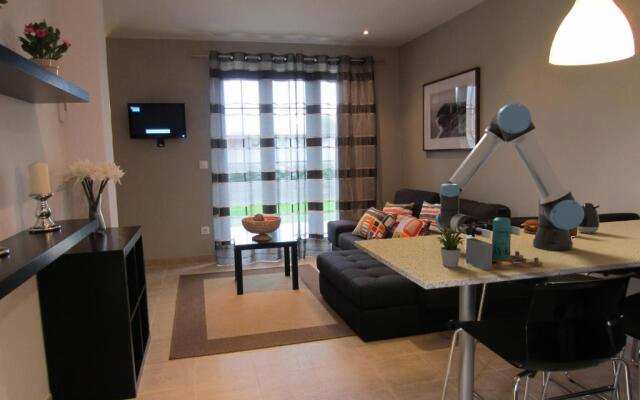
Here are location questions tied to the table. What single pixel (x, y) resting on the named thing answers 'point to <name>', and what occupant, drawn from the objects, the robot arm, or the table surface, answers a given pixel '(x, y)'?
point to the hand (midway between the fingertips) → (504, 233)
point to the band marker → (505, 263)
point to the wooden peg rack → (516, 265)
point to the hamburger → (530, 226)
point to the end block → (479, 253)
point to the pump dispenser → (589, 219)
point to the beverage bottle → (501, 236)
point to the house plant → (450, 246)
